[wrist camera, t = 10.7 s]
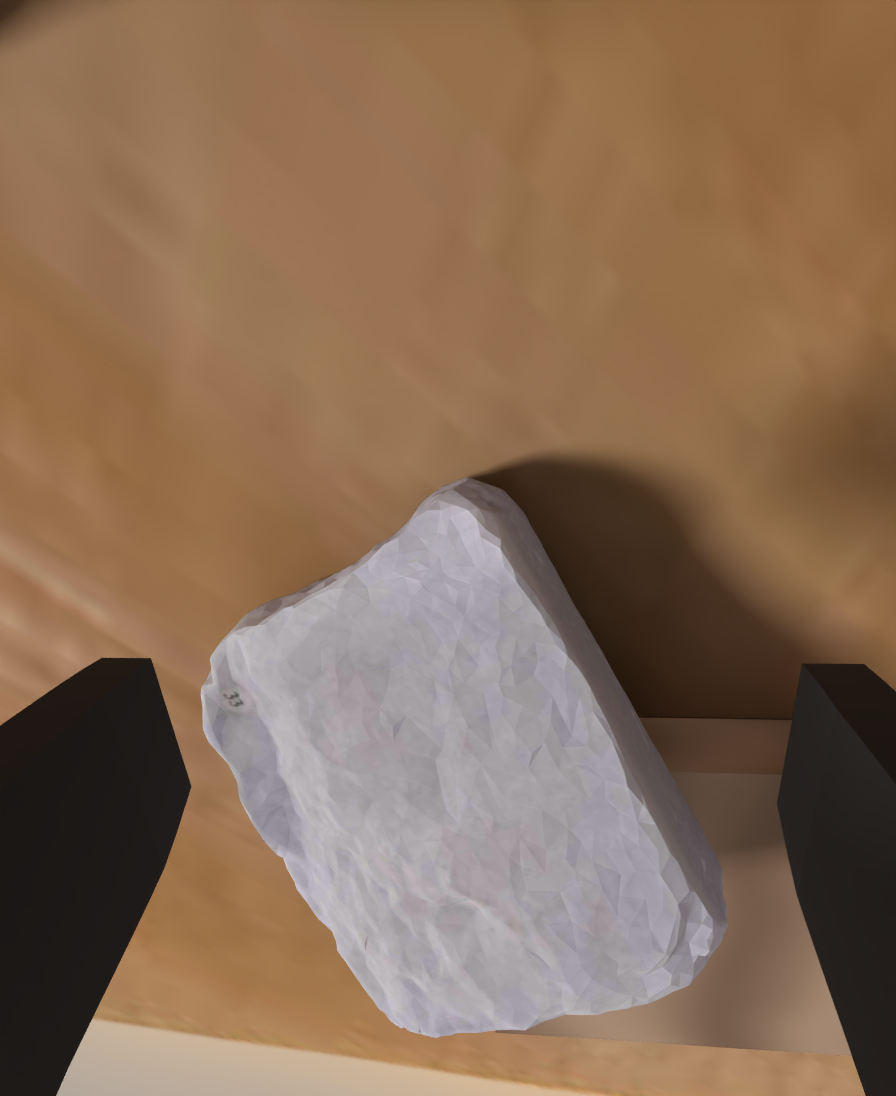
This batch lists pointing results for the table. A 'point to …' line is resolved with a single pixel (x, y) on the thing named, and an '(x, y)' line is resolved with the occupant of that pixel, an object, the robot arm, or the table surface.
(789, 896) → the walnut base
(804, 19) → the table surface
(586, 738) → the stone block
